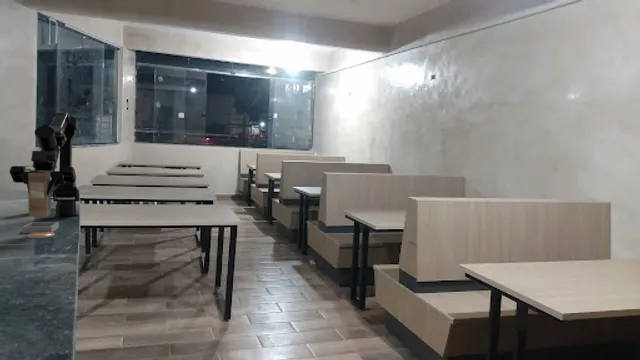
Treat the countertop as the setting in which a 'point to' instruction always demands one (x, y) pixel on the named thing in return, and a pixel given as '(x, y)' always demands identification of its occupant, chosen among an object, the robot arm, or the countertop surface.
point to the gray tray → (40, 227)
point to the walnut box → (39, 194)
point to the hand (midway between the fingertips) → (38, 194)
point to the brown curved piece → (40, 234)
